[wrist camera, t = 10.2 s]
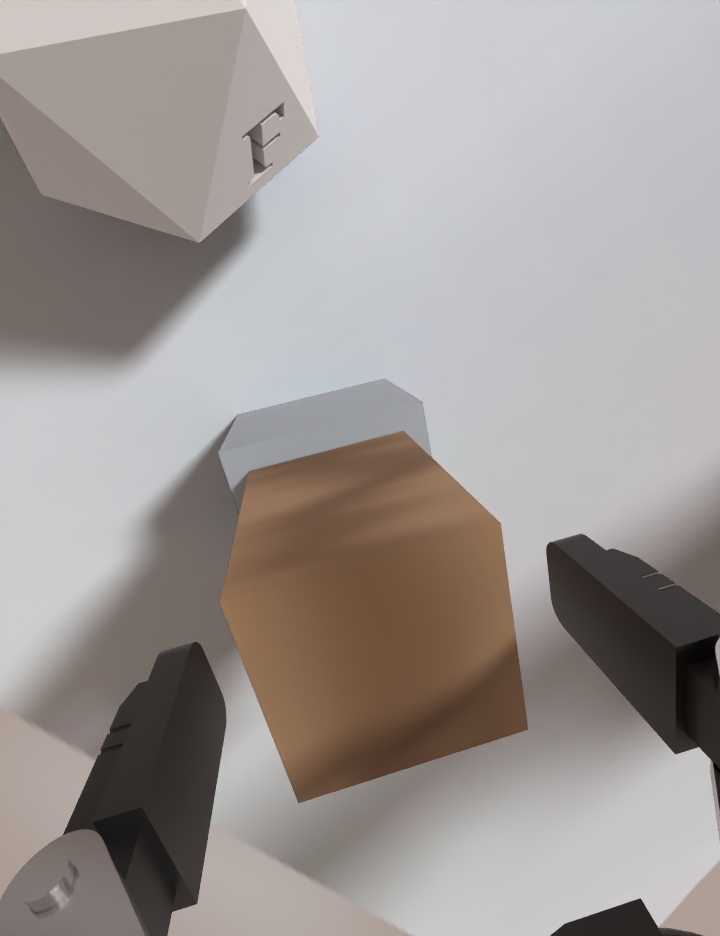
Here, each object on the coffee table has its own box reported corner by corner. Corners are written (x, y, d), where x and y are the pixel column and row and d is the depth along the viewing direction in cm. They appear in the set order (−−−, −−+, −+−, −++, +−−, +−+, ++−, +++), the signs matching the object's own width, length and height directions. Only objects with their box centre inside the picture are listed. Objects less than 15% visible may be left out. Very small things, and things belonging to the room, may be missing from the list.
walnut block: (403, 430, 15) (500, 522, 8) (429, 563, 16) (528, 729, 10) (249, 470, 14) (219, 602, 8) (292, 602, 16) (298, 802, 9)
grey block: (384, 378, 20) (422, 401, 14) (410, 510, 22) (452, 575, 17) (237, 414, 20) (218, 452, 14) (279, 545, 22) (276, 624, 16)
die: (92, 272, 18) (227, 324, 12) (-209, -54, 11) (-267, -343, 5) (244, 145, 20) (426, 132, 14) (68, -198, 13) (276, -529, 7)
